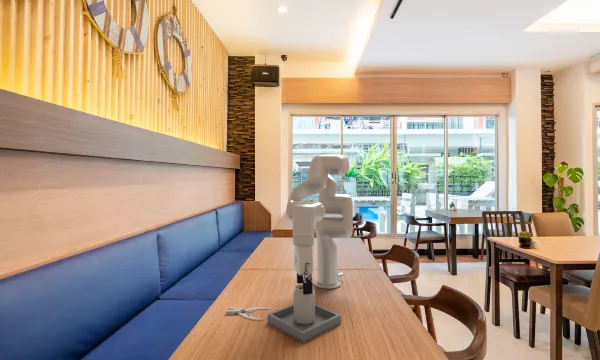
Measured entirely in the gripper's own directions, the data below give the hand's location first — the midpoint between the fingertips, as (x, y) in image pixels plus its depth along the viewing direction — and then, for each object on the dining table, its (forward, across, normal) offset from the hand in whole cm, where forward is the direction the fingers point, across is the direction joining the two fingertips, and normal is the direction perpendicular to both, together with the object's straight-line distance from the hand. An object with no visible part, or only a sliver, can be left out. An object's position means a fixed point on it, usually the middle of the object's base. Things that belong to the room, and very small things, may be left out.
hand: (304, 288), depth 106 cm
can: (+12, +1, 0) cm, 12 cm away
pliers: (+13, -12, -20) cm, 26 cm away
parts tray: (+12, +1, 0) cm, 12 cm away
